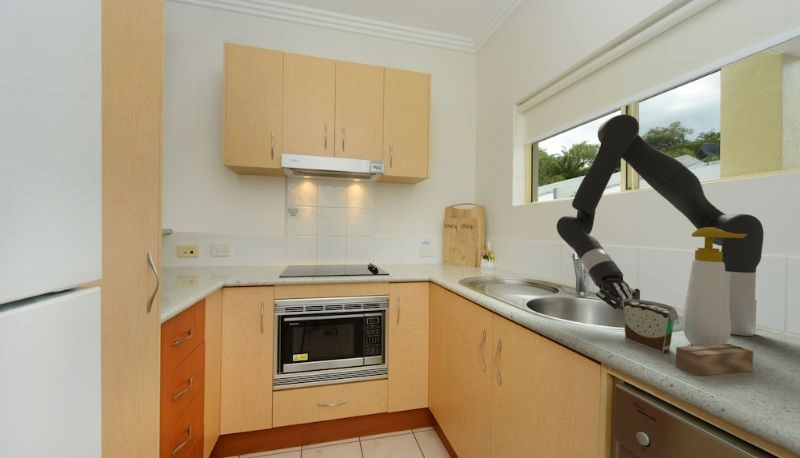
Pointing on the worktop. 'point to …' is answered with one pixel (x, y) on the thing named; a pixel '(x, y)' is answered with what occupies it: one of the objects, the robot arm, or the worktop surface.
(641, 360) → the worktop surface
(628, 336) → the food container
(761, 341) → the worktop surface
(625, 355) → the worktop surface
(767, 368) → the worktop surface
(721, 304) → the soap bottle
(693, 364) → the timber batten
